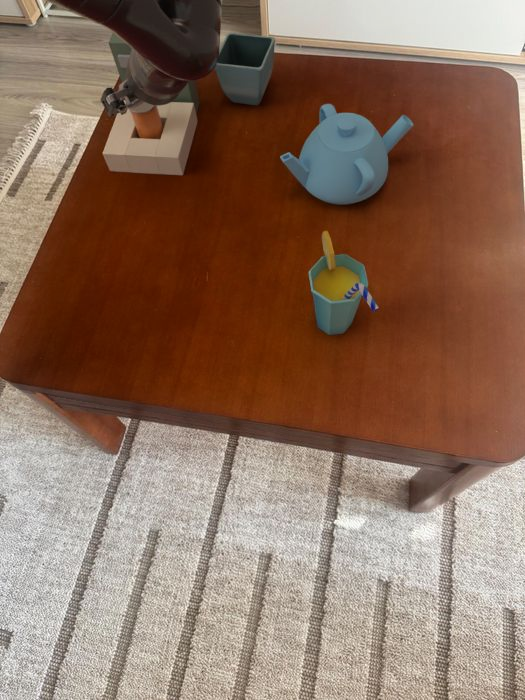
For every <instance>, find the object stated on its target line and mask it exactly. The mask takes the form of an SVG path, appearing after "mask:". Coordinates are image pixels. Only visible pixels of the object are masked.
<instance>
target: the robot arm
mask: <svg viewBox="0 0 525 700" xmlns="http://www.w3.org/2000/svg"><path fill="white" fill-rule="evenodd" d="M45 1H46V2H48V3H49V4H51V5H54V6H56V7H57V8H60V9H63V10H65V11H68V12H69V13H72V14H73V15H77V16H79V17H81V18H84V19H86V20H88V21H90V22H93V23H95V24H97V25H100V26H102V27H104V28H106V29H107V30H109V31H110V32H111V33H114V34H115V35H116V36H117V37H119V38H120V39H121V40H123V41H124V42H125V43H126V44H128V45H129V46H130V47H131V48H132V51H131V54H130V57H129V60H128V63H127V80H125V81H124V82H123V83H122V82H121V83H119V85H118V90H117V91H116V90H115V88H113V87H112V86H111V87H108V86H107V87H106V88H105V90H103V92H102V95H101V97H100V100H99V101H100V103H101V104H102V106H103V107H104V110H105V111H106V113H107V116H108V117H109V118H111V117H112V118H113V117H116V115H117V114H118V113H120V114H121V115H123V114H125V113H126V112H127V109H128V108H130V109H133V108H136V107H138V106H139V105H141V104H142V103H144V102H146V103H148V104H151V105H157V106H160V105H166V104H168V103H170V102H172V101H173V100H175V99H176V98H177V96H178V95H179V94H180V92H181V91H182V90H183V89H184V87H185V86H186V85H187V83H188V82H189V81H193V80H195V81H198V80H201V79H204V78H206V77H207V76H209V75H210V74H211V73H212V72H214V71H215V66H216V65H217V62H218V57H219V50H220V48H221V31H222V30H221V27H222V14H223V13H222V11H223V10H222V9H223V0H45ZM135 99H138V100H137V101H136V100H135ZM123 100H125V101H126V104H125V102H124V101H123Z"/></svg>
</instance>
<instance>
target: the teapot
mask: <svg viewBox="0 0 525 700" xmlns="http://www.w3.org/2000/svg"><path fill="white" fill-rule="evenodd" d="M318 117H319V124H318V125H316V127H315V128H314V129H313V130H312V131H311V133H310V134H309V136H308V137H307V138H306V139H305V141H304V144H303V146H302V148H301V150H300V154H299V158H297V157H296V156H295V155H293V154H292V153H291V152H290V151H289V152H286V153H284V154H282V155H280V156H279V158H280V160H281V161H282V163H283V164H284V166H286V168H287V169H288V170H289V172H291V174H292V175H293V176H294V178H295V179H296V180H297V181H298V182H299V183H300V184H301V185H302V187H303V188H304V189H305V190H306V191H307V192H308V193H309V194H311V195H312V196H313V197H315V198H317V199H318V200H321V201H322V202H325V203H327V204H331V205H338V206H339V205H340V206H343V205H345V206H346V205H352V204H357V203H360V202H362V201H364V200H367V199H368V198H370V197H372V196H373V195H375V194H376V193H378V191H379V190H380V189H381V188H382V187H383V185H384V183H386V179H387V177H388V173H389V157H388V154H389V153H390V152H391V151H392V149H393V148H394V147H395V146H396V145H397V144H398V143H399V142H400V141H401V140H402V138H403V137H404V136H405V135H407V133H408V132H409V131H410V130H411V129H412V128H413V127H414V122H413V121H412V120H411V119H410V118H409V117H408V116H407V115H405V114H402V115H401V116H400V117H399V118H398V119H397V120H396V121H395V123H394V124H393V125H392V126H391V127H390V128H389V129H388V130H387V131H386V133H384V135H380V133H379V131H378V130H377V128H376V127H375V125H373V123H372V122H371V121H370V120H369V119H368V118H366V117H364V116H363V115H361V114H358V113H354V112H338V113H337V110H336V108H335V106H334V105H333V104H332V103H324V104H322V105H321V106H320V108H319V115H318Z"/></svg>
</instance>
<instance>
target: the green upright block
mask: <svg viewBox="0 0 525 700" xmlns="http://www.w3.org/2000/svg"><path fill="white" fill-rule="evenodd" d="M111 33H112V34H111V35H110V38H109V41H108V45H109V49H110V52H111V55H112V57H113V58H112V59H113V60H114V61H113V62H114V64H115V66H116V69H117V72H118V75H119V78H120V81H121V83H123V82H124V81H125V80H127V63H128V60H129V57H130V54H131V51H132V48H131V47H130V46H129V45H128V44H126V43H125V42H124V41H123V40H121V39H120V38H119V37H117V36H116V35H115V34H114V33H113V32H111ZM172 102H184V103H194V107H195V111H196V115H197V114H198V110H199V107H200V97H199V91H198V88H197V83H196V80H193V81H189V82H188V83H187V85H186V86H185V87H184V89H183V90H182V91H181V92H180V94H179V95H178V96H177V98H176V99H175V100H173V101H172Z"/></svg>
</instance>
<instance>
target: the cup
mask: <svg viewBox="0 0 525 700" xmlns="http://www.w3.org/2000/svg"><path fill="white" fill-rule="evenodd" d="M321 242H322V250H323V254H324V255H323V256H321V257H320V258H319V260H318V261H317V262H316V263H315V264H314V265H313V266H312V267H311V268H310V270H309V271H308V277H309V283H310V291H311V295H312V297H313V304H314V312H315V319H316V325H317V328H318V329H319V330H321V331H323V332H324V333H326V334H327V335H329V336H333V335H342V334H344V333H345V332H346V331H347V330H348V329H349V328H350V326H351V325H352V324H353V321H354V319H355V316H356V313H357V312H358V308H359V305H360V302H361V300H362V297H363V299H364V300H365V301H366V304H367V305H368V307H369V308H370V309H371V311H372V312H376V311H377V310H379V309H380V308H379V306H378V304H377V303H376V300H375V299H374V298H373V296H372V295H371V293H370V292H369V290H368V287H369V279H368V276H367V272H366V267H365V265H364V264H363V263H361V262H360V261H357V260H356V259H354V257H351V256H349V255H348V254H346V253H342V254H335V251H334V246H333V242H332V238H331V236H330V233H329V232H328V230H324V231H322V232H321Z"/></svg>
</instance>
